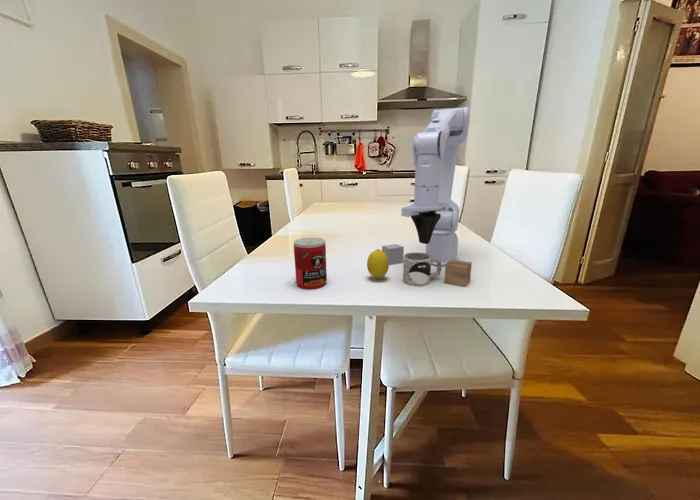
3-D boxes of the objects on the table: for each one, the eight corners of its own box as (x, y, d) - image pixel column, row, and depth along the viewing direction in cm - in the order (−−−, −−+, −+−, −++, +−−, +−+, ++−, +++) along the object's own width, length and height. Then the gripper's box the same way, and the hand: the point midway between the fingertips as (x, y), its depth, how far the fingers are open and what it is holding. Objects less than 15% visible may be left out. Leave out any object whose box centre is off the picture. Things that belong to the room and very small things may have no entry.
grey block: (395, 259, 98) (396, 243, 96) (403, 262, 94) (403, 246, 93) (381, 261, 96) (382, 246, 94) (389, 265, 92) (389, 248, 91)
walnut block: (450, 277, 82) (451, 259, 80) (470, 281, 79) (471, 262, 78) (444, 283, 78) (445, 264, 76) (465, 287, 75) (466, 267, 74)
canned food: (304, 292, 74) (301, 246, 71) (291, 281, 80) (288, 240, 77) (332, 285, 78) (331, 242, 75) (318, 276, 84) (316, 235, 81)
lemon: (392, 277, 82) (392, 248, 80) (382, 284, 77) (382, 253, 75) (373, 273, 85) (374, 245, 83) (363, 280, 80) (362, 250, 78)
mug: (409, 287, 75) (410, 261, 74) (399, 278, 82) (399, 253, 80) (447, 283, 77) (449, 257, 76) (434, 274, 84) (435, 250, 82)
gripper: (433, 184, 81) (430, 235, 84) (392, 187, 72) (391, 244, 76) (457, 185, 75) (453, 240, 79) (415, 188, 67) (413, 250, 70)
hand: (424, 242), depth 77 cm, fingers closed
